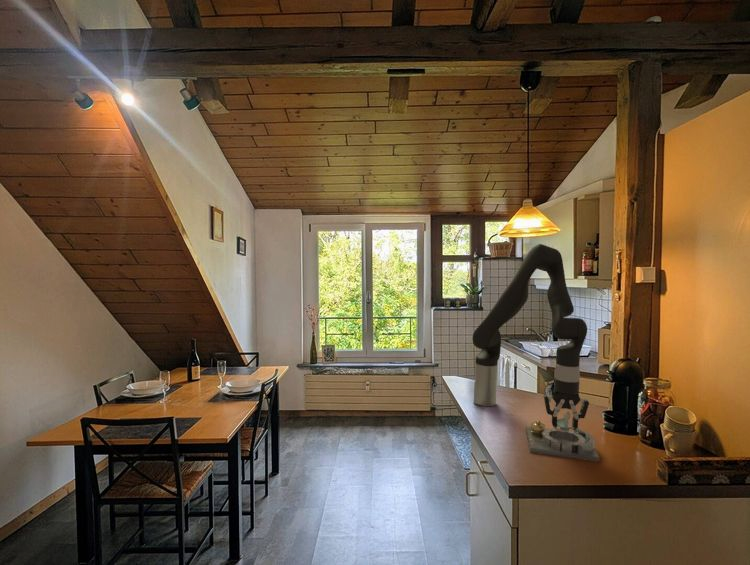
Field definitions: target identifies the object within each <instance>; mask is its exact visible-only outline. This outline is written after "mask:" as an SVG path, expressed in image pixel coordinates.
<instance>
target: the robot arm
mask: <svg viewBox="0 0 750 565" xmlns="http://www.w3.org/2000/svg"><path fill="white" fill-rule="evenodd" d="M536 270H540V271H542V272H546V273H547V276H548V278H549V280H550V283H549V286H548V288H547V293H546V294H547V295H546V296H547V301H548V304H549V308H550V310H551V311H550V312H551V333H552V335H553V336H554V337H555V338H557V339H558V340H570V341H569V342H568V343H567V344H565V345H559V346H557V348H556V354H555V355H556V356H555V357H556V358H555V367H554V374H553V375H554V382H553V383H554V384H553V393H552V394H551V395H548V394H544V395H543V400H544V404H545V405H544V406H545V411H546V413H547V414H548V415H550V416H551V425H552V427H553V426H554V427H557V428H558V426H557V420H558V414H559V413H560V412H561V410H563V409H566V410H571V413H572V415H573V416H572V420H571V421H572V422H571V427H574V429H572V431H574V430H576V429H577V428H579V420H580V419H585V418H586V415H587V411H588V408H589V405H590V401H589V400H588V399H587V398H583V397H582V398H581V397H580V379H581V377H580V376H581V375H580V374H581V373H580V372H581V371H580V360H581V358H580V356H581V352H582V349H583V345H584V342H585V340H586V337H587V334H588V325H587V323H586V322H585V320H584V319H583V318H580V317H569V316H571V315H573V313H574V312H575V311H574V304H573V302H572V299H571V296H570V293H569V290H568V287H567V281H566V276H565V268H564V262H563V257H562V254H561V252H560V251H559V250H558V249H556V248H554V247H551V246H548V245H546V244H541V243H536V244H535V245H533V246H532V247H531V248H530V250H529V251H528V253H527V254H526V256H525V258H524V259H523V262H522V263H521V265H520V266H519V268H518V270H517V272H516V274H515V275H514V277H513V278H512V280H510V283H509V284H508V286H507V287H506V288H505V289H504V291H503V292H502V294H501V295H500V297H499V298H498V300H497V301H496V303H495V304H494V306H493V307H492V308H491V310H490V312H489V313H488V314H487V316H486V317H485V318H484V320H482V322H481V323H479V325H478V326H477V327H476V328H475V330H474V331H473V333H472V334H473V335H472V337H471V338H472V339H471V340H472V343H473V345H474V347H475V348H478V349H479V350H480V351H479V353H478V354H477V355H476V356H475V366H474V368H475V369H474V384H473V386H474V387H473V388H474V389H473V404H475V405H478V406H482V407H495V406H496V405H497V387H498V386H497V384H498V383H497V382H498V364H499V362H498V361H499V359H500V357H501V347H502V335H501V331H500V328H502V326H504V325H505V324H507V322H509V321H510V320H512V319H513V318H514V317H515V316H516V315H517V314H519V312H520V311H521V310H522V308H523V307H524V305H525V304H526V303H527V301H528V299H529V284H530V283H529V282H530V279H531V277H532V276H533V274H534V272H536ZM552 400H553V401H554V403H555V404H554V406H553V410H552V409H551V405H550V403H551V402H552ZM579 402H580V405H581V407H580V411H579V412H577V408H576V406H577V405H578V404H579Z"/></svg>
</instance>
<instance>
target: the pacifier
mask: <svg viewBox="0 0 750 565" xmlns="http://www.w3.org/2000/svg"><path fill="white" fill-rule="evenodd" d="M570 419H571V413H570V412H569V411H568V410H565V411H564V413H563V417H562V418H557V427H554V426H553V425H552V428H554V429H555V430H557V431H560V432H568V431H570V430H573V429H574V427H572V426H571V423H570V422H569V420H570Z"/></svg>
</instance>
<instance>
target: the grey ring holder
mask: <svg viewBox="0 0 750 565" xmlns="http://www.w3.org/2000/svg"><path fill="white" fill-rule="evenodd" d="M545 426H546V425H545V423H543V422H541V421H540V420H535V421H532V422H531V424H530V426H527V425H526V426H525V434H526V439H527V443H529V444H528V448H529V453H533V454H540V455H546V456H553V457H560V458H561V457H562V458H567V457H568V459H574V458H577V459H576V460H581V459H585V460H584V461H588V460H590V461H589V462H596V463H597V462H598V463H600V456H599V454H598V452H597V450H596V448H595V446H596V445H595V444H596V443H595V442H596V440H595V437H594V436H593V435H591V433H590V432H588V431H586V430H584V429H581V428H580V427H578V428H577V429H576V430H569V431H568V432H560V431H557V430H555V429H554V428H553V427H552V428H545Z"/></svg>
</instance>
